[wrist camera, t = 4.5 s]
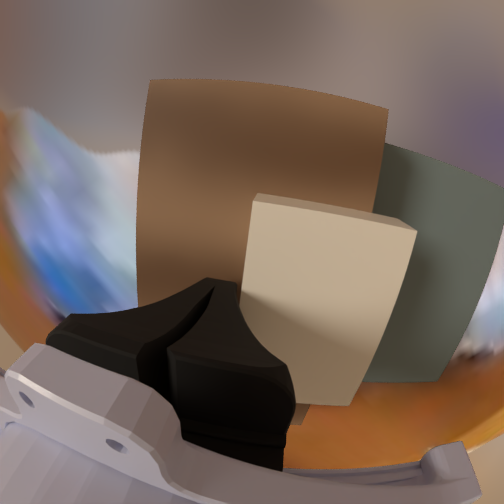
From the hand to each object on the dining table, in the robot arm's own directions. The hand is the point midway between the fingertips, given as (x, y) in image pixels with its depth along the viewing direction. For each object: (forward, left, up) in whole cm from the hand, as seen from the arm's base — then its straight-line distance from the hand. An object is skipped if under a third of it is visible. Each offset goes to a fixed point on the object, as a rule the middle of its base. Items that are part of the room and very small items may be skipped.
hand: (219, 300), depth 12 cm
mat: (0, -12, -5) cm, 13 cm away
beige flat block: (0, -4, -1) cm, 4 cm away
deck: (0, -1, -5) cm, 5 cm away
